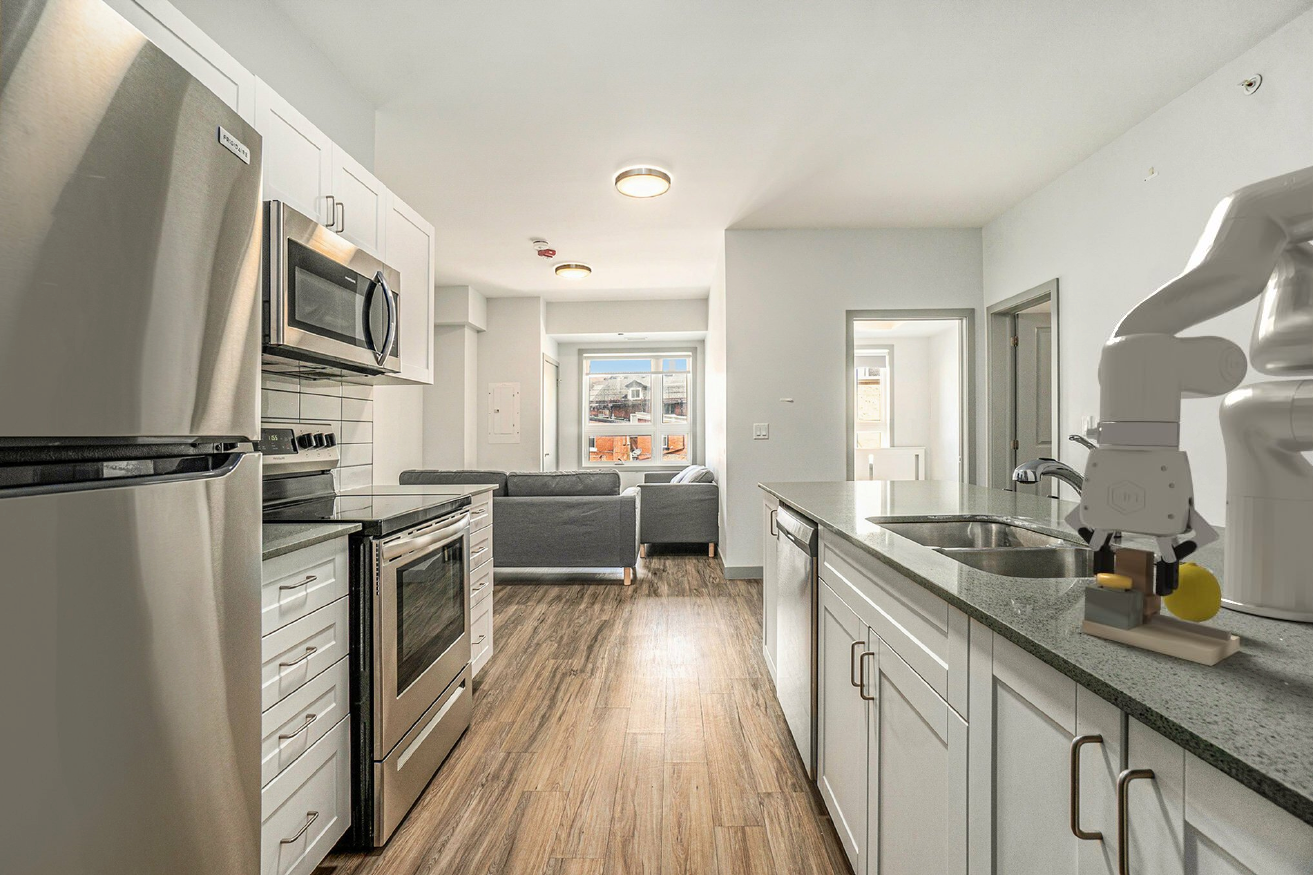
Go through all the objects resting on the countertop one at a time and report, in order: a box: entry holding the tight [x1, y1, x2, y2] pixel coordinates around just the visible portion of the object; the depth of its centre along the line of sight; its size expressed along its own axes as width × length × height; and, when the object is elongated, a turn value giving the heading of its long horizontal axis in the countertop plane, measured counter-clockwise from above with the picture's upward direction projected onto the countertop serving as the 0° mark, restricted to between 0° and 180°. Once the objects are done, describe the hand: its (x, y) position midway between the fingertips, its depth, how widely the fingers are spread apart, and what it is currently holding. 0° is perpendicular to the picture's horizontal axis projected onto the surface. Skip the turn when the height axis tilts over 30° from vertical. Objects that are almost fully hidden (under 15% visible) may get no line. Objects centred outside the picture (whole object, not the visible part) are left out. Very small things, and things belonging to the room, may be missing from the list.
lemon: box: [1161, 561, 1222, 623], centre depth 73 cm, size 6×6×8 cm
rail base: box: [1081, 582, 1241, 667], centre depth 67 cm, size 9×12×6 cm
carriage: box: [1114, 546, 1162, 622], centre depth 71 cm, size 4×4×8 cm
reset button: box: [1096, 573, 1132, 593], centre depth 69 cm, size 3×3×5 cm
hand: (1133, 587), depth 71 cm, fingers open, 5 cm apart
